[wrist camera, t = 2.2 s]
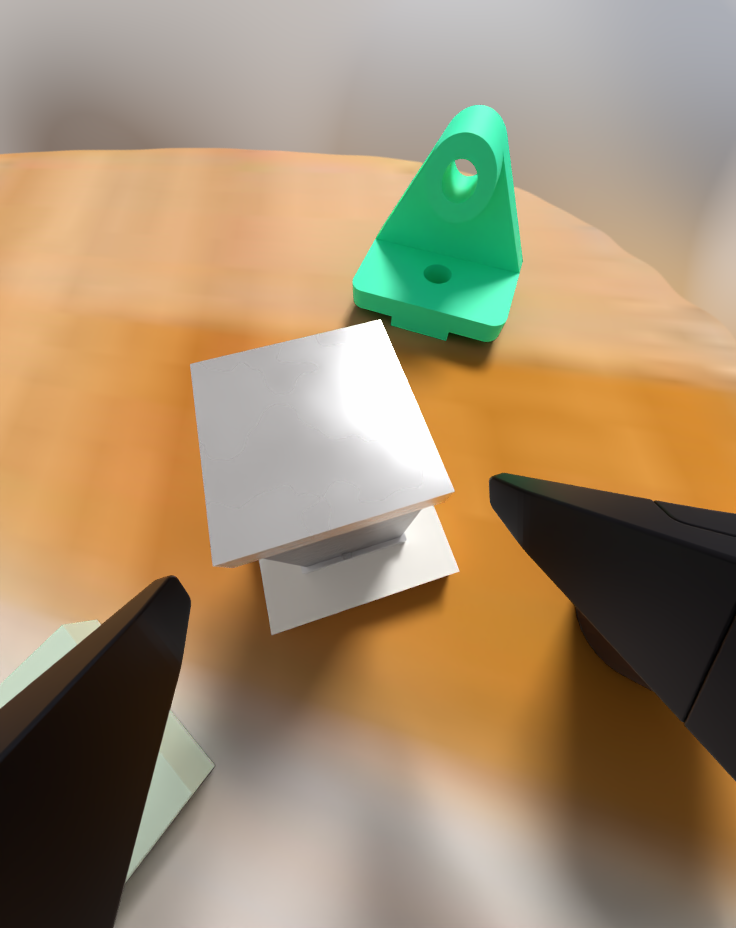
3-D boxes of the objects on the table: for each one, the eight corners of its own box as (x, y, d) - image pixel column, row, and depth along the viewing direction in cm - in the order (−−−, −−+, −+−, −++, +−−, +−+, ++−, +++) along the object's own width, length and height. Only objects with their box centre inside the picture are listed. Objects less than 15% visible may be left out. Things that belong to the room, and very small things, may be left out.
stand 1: (215, 765, 14) (191, 793, 12) (15, 1027, 11) (-54, 1115, 10) (97, 619, 17) (62, 624, 15) (-94, 807, 14) (-167, 843, 12)
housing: (404, 542, 16) (454, 491, 7) (306, 574, 16) (212, 566, 6) (374, 453, 18) (380, 319, 9) (285, 479, 17) (190, 364, 8)
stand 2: (449, 572, 17) (459, 571, 16) (282, 628, 16) (271, 635, 14) (394, 428, 21) (397, 413, 19) (253, 467, 20) (241, 455, 18)
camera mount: (350, 315, 25) (339, 152, 16) (380, 258, 28) (386, 89, 18) (490, 355, 24) (574, 200, 14) (508, 290, 26) (589, 123, 17)
